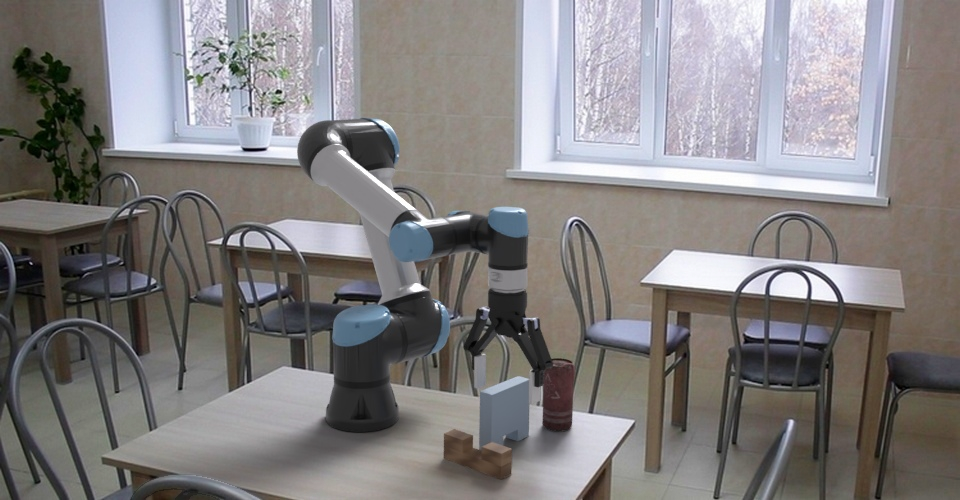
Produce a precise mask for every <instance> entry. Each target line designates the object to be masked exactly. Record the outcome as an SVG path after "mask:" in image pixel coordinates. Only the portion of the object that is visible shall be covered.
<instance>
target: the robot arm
mask: <svg viewBox="0 0 960 500" xmlns="http://www.w3.org/2000/svg"><path fill="white" fill-rule="evenodd" d="M296 151H297V160H298V164H299V166H300V168H301V169H302V170H303V172H304V174H305V175H306V176H307V177H308V178H309V179H310V180H311V181H312V182H314V183H315V184H316V185H319V186H321V187H328V188H329V189H330V190H331V191H333V192H334V193H335V194H336V195H338V196H339V197H340V198H341V199H342V200H343V201H344V202H346V203H347V204H348V205H349V206H351V207H352V208H354V209H353V210H355V211H356V212H358V213H359V216H360V220H361V223H362V224H361V225H362V227H363V230H364V234H365V235H364V236H365V238H366V242H367V245H368V248H369V254H370V255H371V259H372V263H373V266H374V270H375V273H376V278H377V281H378V284H379V287H380V288H379V289H380V291H381V297H380V299H379V301H378V303H369V304H368V303H367V304H365V305H363V304H360V305H359V304H358V305H354V306H351V307H347V308H345V309H344V310H342V311H340V312H339V313H338V314H337V315H336V316H335V317H334V320H333V326H332V327H333V329H332V334H331V335H332V336H331V339H332V348H333V349H332V351H333V352H332V353H333V355H332V356H333V360H332V361H333V386H332V390H331V393H330V398H329V402H328V403H327V406H326V408H325V421H326V423H327V424H328V426H330V427H331V428H334V429H336V430H339V431H345V432H353V433H354V432H356V433H365V432H367V433H368V432H374V431H380V430H384V429H387V428H389V427H391V426H393V425H394V424H396V423H397V422H398V420H399V417H400V416H399V415H400V414H399V412H400V411H399V410H400V409H399V405H398V403H397V400H396V396H395V393H394V390H393V388H392V384H391V366H392V365H396V364H397V365H398V364H401V363H405V362H408V361H412V360H416V359H419V358H425V357H428V356H430V355H432V354H435V353H439V351H441V350H442V349H443V348H444V346H445V345H446V344H447V341H448V338H449V336H450V332H451V322H450V321H451V320H450V316H449V312H448V310H447V308H446V306H445V305H443V303H442V302H441V301H440V300H437V299H435V298H432V297H433V296H432V294H431V290H430V289H429V288H428V287H426V286H424V285H423V284H421V281H420V278H419V275H418V274H419V273H418V270H417V267H416V263H419V262H423V261H426V260H430V259H431V260H432V259H437V258H441V257H447V256H452V255H458V254H464V253H473V252H474V253H478V254H483V255H487V256H488V257H487V258H488V259H487V260H488V262H487V267H488V271H487V273H488V274H487V275H488V276H487V277H488V278H487V281H488V283H487V285H488V287H489V289H488V291H487V294H488V295H487V305H486V306H482V307H479V308H477V309H476V311H475V319H474V322H473V323H472V326H471V329H470V330H469V333H468V335H467V337H466V339H465V342H464V344H463V350H464V351H467V352H470V355H471V369H472V370H473V371H474V374H473V375H474V376H473V381H474V382H473V383H474V384H473V388H474V389H480V388H482V387H485V386H487V377H486V376H487V354H486V353H485V349H486V348H487V347H488V346H489V344H491V342H492V341H493V340H494V339H495V337H496V336H497V335H498V336H505V337H507V338H512V340H513V341H514V342H516V343H517V345H518V346H519V348H520V349H521V350H520V351H521V352H522V353H523V355H524V357H525V359H526V360H527V362H528V363H529V365H530V367H531V369H530V370H529V372H528V379H529V404H530V405H533V404H536V403H538V402H540V401H541V394H542V393H541V392H542V391H541V387H544V370H546V369H548V368H551V367H553V362H552V359H553V358H552V357H551V354H550V351H549V349H548V346H547V343H546V339H545V338H544V334H543V332H542V329H541V320H540V317H538V316H536V317H531V318H530V317H527V314H526V311H527V307H528V290H527V289H526V288H528V285H529V284H528V283H529V282H528V280H529V279H528V277H529V276H528V265H529V264H528V254H529V251H528V249H529V233H530V230H529V219H528V218H529V216H528V212H527V211H526V210H525V209H524V208H522V207H518V206H517V207H516V206H496V207H492V208H491V209H489V211H488V214H483V213H476V212H473V211H470V210H453V211H450V212H449V213H448V214H447V215H445V216H438V217H432V218H431V217H430V218H429V217H427V216H425V215H424V214H423V213H422V212H420V211H419V210H418V209H416V208H415V207H414V206H413V205H412V204H410V203H409V202H407V201H406V200H405V199H404V198H402V196H400V195H399V194H397V193H396V192H395V191H394V185H393V182H392V179H393V178H394V175H395V173H396V169H395V166H396V165H397V164H398V162H399V158H400V155H399V153H400V151H401V148H400V142H399V138H398V136H397V134H396V132H395V130H394V129H393V128H392V127H391V125H389V124H388V123H387V122H385V121H384V120H382V119H380V118H371V117H370V118H369V117H361V118H351V119H336V120H335V119H334V120H331V119H328V120H322V121H318V122H314V123H313V124H311V125H310V126H309V127H307V128H306V129H305V130H304V132H303V133H302V135H301V136H300V138H299V141H298V143H297V148H296ZM488 319H489V321H490V325H489V326H488V327H487V328H486V329H485V332H484V334H482V333H483V331H484V328H485V327H486V324H487V322H488Z"/></svg>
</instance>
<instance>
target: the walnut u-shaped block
mask: <svg viewBox="0 0 960 500" xmlns="http://www.w3.org/2000/svg"><path fill="white" fill-rule="evenodd" d="M512 456H513V449H512V448H510V447H508V446H505V445H504V444H503V445H500V444H497V443H494V442H491V443H489V444H486V445H484V446H482V451H481V450H479V448H478V449H477V448H474V435H473V434H470V433H467V432H464V431H462V430H458V429H456V428H453V429H452V430H449V431H447V432H444V433H443V459H444V460H448V461H450V462H452V463H455V464H458V465H460V466H463V467H466V468H468V469H472V470H475V471H477V472H480V473H482V474H486V475H487V476H490V477H493V478H496V479H499V480H503V479H505V478H507V477H509V476H511V475H512V464H513V463H512V461H513V457H512Z"/></svg>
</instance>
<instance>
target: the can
mask: <svg viewBox="0 0 960 500" xmlns="http://www.w3.org/2000/svg"><path fill="white" fill-rule="evenodd" d="M551 359H552V362H553V367H551V368H548V369H546V370H544V384H543V386H542V387H543V395H542V396H543V398H542V425H543V427H544V429H546V430H547V431H551V432H567V431H568V430H570V429H571V428H572V426H573V411H574V408H573V407H574V383H575V378H576V376H575V375H576V367H575V364H573V361H572V360H570V359H567V358H559V357H558V358H555V357H554V358H551Z"/></svg>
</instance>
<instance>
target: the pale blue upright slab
mask: <svg viewBox="0 0 960 500" xmlns="http://www.w3.org/2000/svg"><path fill="white" fill-rule="evenodd" d="M530 405H531V404H529V378H528V377H524V376H520V375H517V376H515V377H513V378H510V379H507V380H505V381H502V382H499V383H498V384H494V385H492V386H489V387H487V388H485V389H483V390H480V391H479V425H478V426H479V427H478V428H479V429H478V431H479V433H478V442H479V443H478V450H480V451H482V446H484V445H486V444H489V443H491V442H494V443H497V444H500V445H503V446H504V437H505V438H507V439H509V440H512V441H516V442H519V441H521V440H523V439H526V438H527V437H529V436H530Z"/></svg>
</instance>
